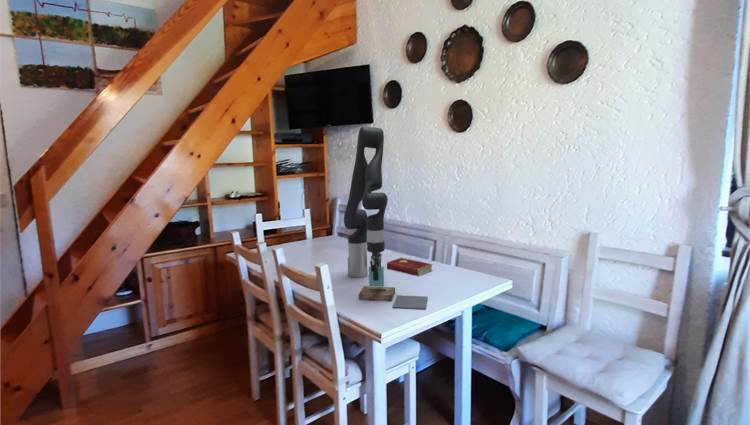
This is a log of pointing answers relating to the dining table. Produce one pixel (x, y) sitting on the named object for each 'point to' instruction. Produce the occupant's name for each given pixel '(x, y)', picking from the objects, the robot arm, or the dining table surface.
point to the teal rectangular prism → (380, 275)
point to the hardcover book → (409, 266)
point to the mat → (410, 302)
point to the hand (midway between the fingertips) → (376, 279)
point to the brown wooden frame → (377, 293)
